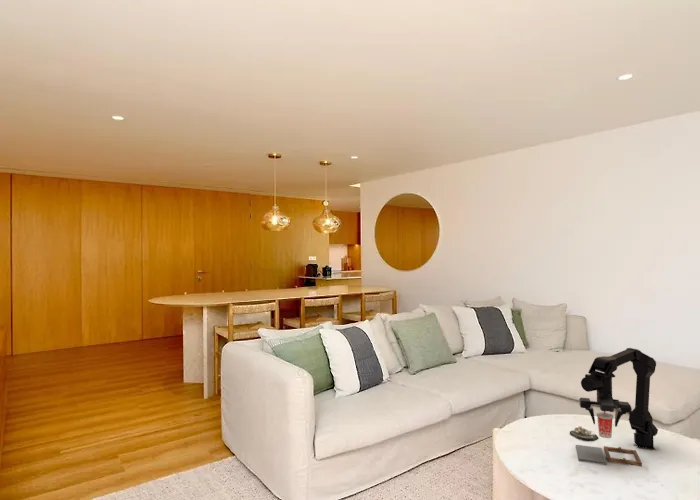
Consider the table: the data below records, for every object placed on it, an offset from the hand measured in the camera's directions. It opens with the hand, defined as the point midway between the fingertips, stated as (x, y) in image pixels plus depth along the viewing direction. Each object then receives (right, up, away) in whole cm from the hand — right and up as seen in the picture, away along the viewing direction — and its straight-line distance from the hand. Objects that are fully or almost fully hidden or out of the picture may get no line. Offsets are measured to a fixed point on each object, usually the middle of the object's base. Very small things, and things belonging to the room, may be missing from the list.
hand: (604, 425), depth 188 cm
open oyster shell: (+2, -14, +21) cm, 25 cm away
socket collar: (+6, -13, -1) cm, 15 cm away
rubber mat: (-5, -13, +2) cm, 14 cm away
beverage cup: (0, -5, 0) cm, 5 cm away
